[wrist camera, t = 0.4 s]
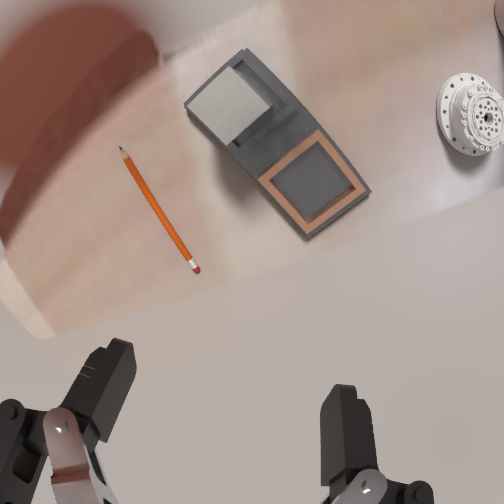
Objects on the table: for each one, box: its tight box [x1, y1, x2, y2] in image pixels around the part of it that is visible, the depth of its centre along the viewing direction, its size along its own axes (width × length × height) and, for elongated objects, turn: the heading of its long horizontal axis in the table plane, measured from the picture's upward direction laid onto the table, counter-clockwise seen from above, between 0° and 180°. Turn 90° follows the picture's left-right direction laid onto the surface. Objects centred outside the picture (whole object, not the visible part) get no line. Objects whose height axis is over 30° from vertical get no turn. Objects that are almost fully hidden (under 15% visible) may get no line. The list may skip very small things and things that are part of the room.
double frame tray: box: [184, 48, 372, 238], centre depth 30 cm, size 9×20×2 cm, turn 43°
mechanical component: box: [436, 73, 504, 156], centre depth 24 cm, size 10×4×10 cm
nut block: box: [187, 66, 273, 146], centre depth 24 cm, size 4×4×8 cm
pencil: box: [119, 146, 200, 273], centre depth 35 cm, size 1×19×1 cm, turn 27°
